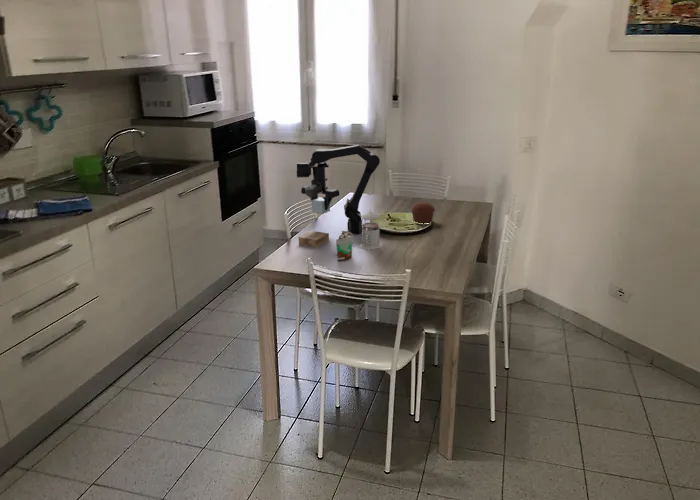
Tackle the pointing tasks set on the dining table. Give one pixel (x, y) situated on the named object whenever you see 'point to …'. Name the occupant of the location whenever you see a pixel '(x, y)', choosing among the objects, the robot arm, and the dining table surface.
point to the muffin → (422, 212)
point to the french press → (370, 231)
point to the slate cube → (319, 206)
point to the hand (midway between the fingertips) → (321, 209)
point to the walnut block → (313, 239)
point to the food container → (344, 246)
